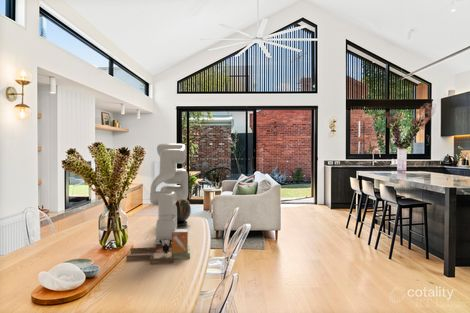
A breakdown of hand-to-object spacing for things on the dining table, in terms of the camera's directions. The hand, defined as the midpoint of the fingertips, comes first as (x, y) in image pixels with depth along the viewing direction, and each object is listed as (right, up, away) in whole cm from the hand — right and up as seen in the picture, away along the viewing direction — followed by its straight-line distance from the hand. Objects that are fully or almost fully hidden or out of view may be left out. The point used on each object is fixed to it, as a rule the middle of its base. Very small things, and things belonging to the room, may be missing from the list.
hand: (165, 252), depth 173 cm
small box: (+7, -2, 0) cm, 7 cm away
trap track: (-4, -1, 0) cm, 4 cm away
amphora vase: (-7, 0, +70) cm, 70 cm away
